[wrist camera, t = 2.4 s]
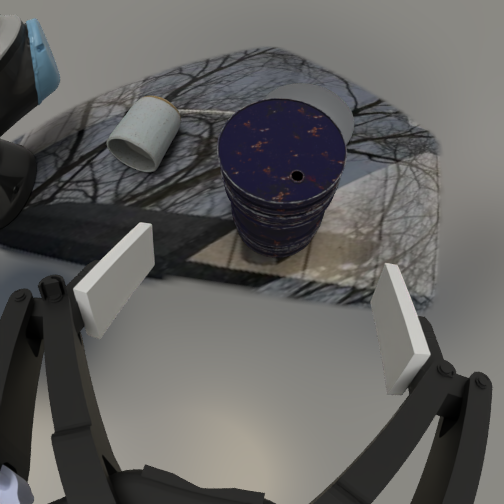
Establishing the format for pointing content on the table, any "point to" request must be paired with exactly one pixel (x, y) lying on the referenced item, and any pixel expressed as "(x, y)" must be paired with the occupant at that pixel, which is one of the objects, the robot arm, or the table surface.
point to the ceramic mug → (145, 133)
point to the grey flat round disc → (320, 104)
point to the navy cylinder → (280, 172)
